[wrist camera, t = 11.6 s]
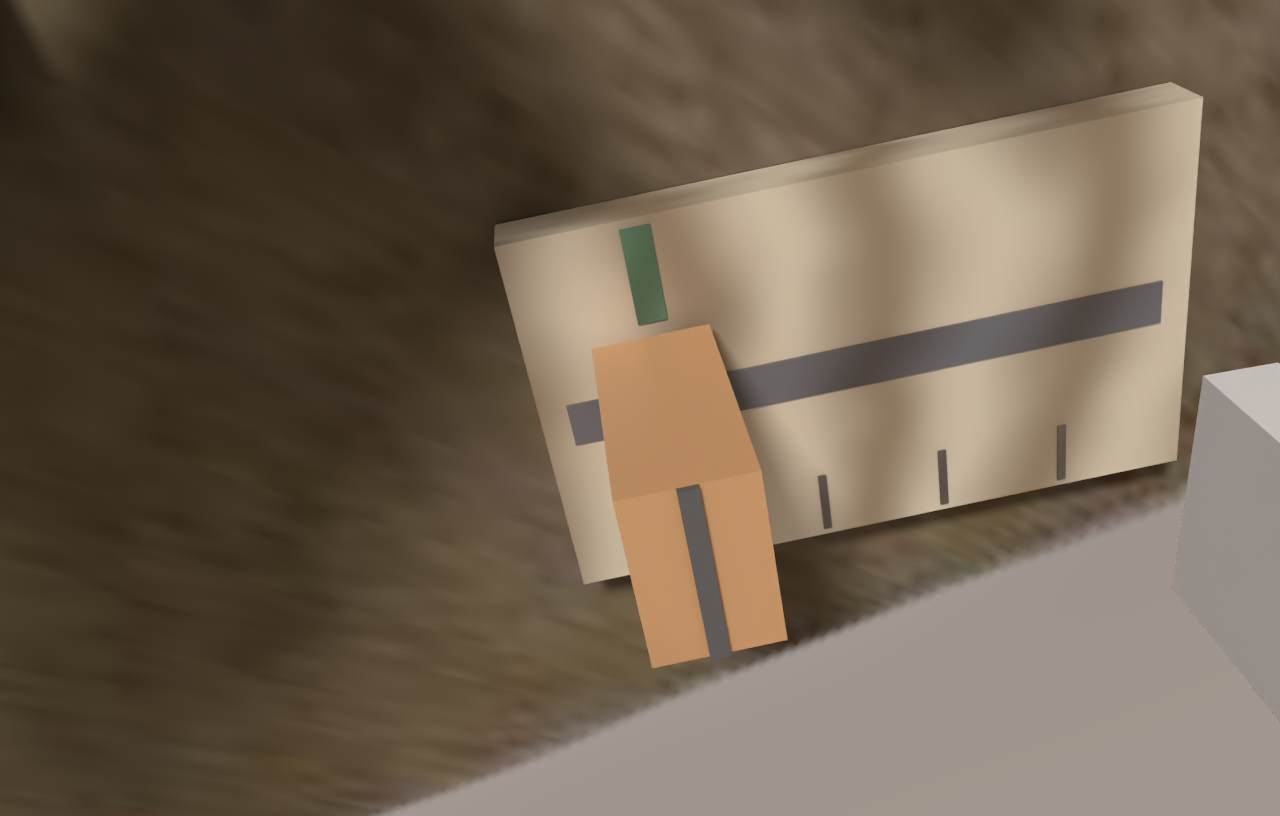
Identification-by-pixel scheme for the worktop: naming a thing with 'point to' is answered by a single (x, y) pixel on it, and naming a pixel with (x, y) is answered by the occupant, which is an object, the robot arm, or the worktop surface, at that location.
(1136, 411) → the fader board
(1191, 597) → the robot arm
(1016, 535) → the worktop surface
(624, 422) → the block
